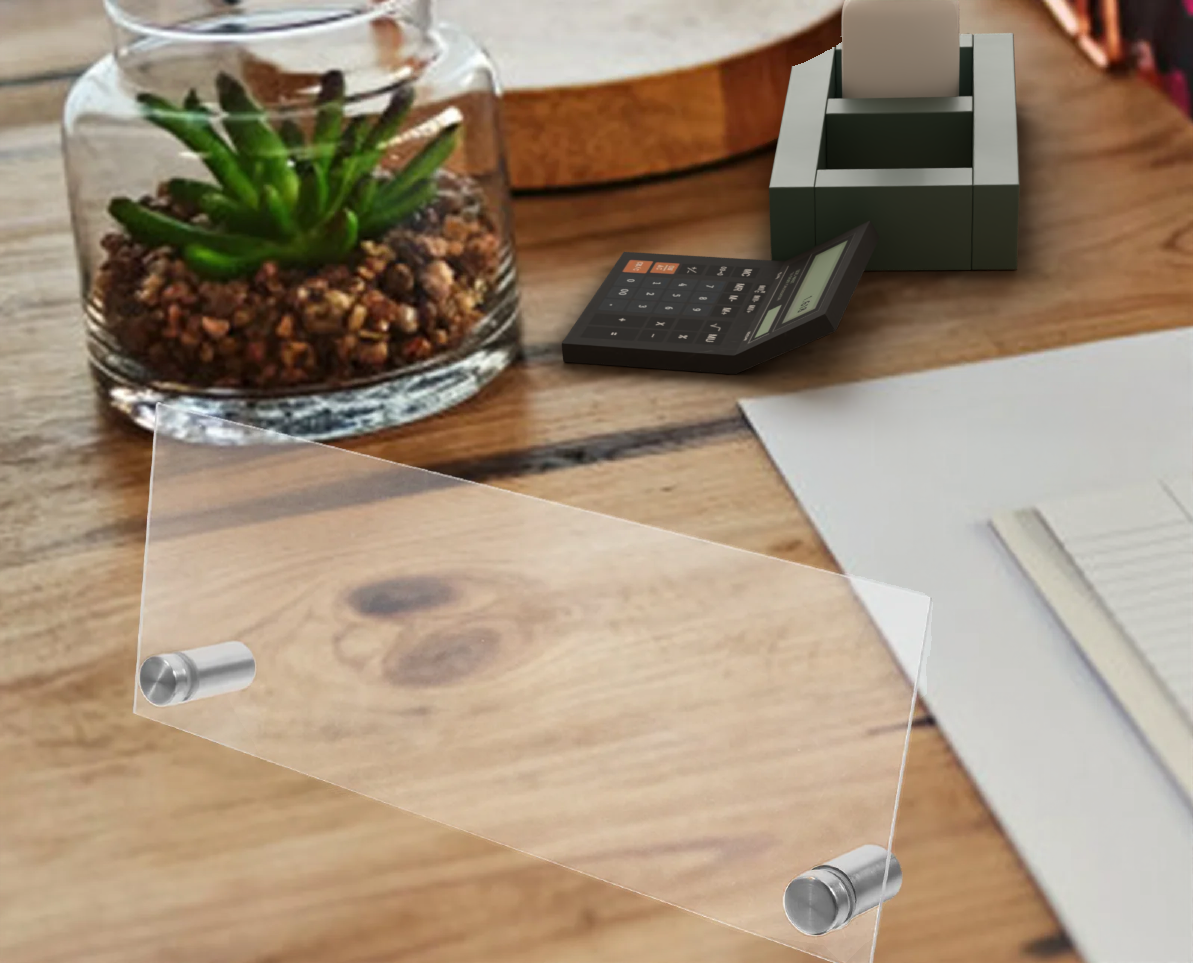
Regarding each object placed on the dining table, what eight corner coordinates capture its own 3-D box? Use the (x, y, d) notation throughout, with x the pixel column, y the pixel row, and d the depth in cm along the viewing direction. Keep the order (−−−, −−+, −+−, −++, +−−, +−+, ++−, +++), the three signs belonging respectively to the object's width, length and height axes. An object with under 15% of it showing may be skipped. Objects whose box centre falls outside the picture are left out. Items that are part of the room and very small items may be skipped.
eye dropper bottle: (875, 126, 118) (873, -113, 112) (972, 145, 115) (977, -100, 109) (828, 155, 115) (824, -89, 109) (927, 175, 112) (928, -74, 106)
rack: (1011, 108, 119) (1013, 32, 117) (1017, 270, 102) (1019, 184, 100) (799, 112, 120) (797, 36, 118) (771, 271, 104) (768, 187, 102)
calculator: (624, 269, 105) (620, 207, 104) (880, 284, 102) (879, 220, 100) (563, 361, 98) (557, 296, 96) (836, 381, 95) (835, 314, 93)
